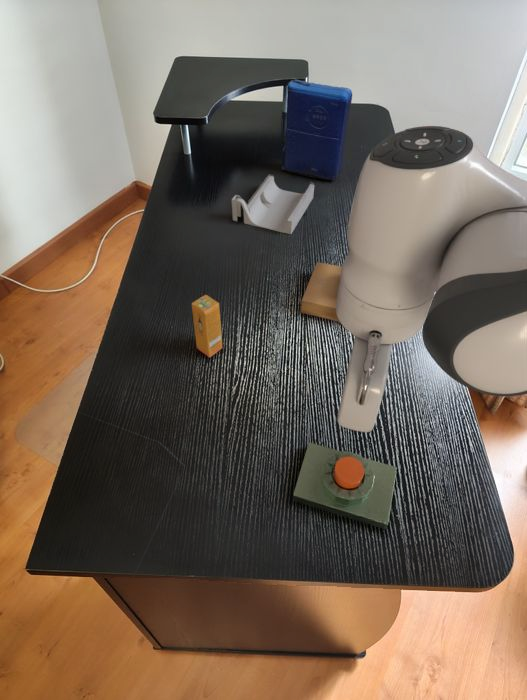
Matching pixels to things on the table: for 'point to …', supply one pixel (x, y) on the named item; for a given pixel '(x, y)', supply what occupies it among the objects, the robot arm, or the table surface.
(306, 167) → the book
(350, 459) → the button
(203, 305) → the supplement box
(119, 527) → the table surface
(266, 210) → the white curved channel piece
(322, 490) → the button box
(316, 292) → the control panel
